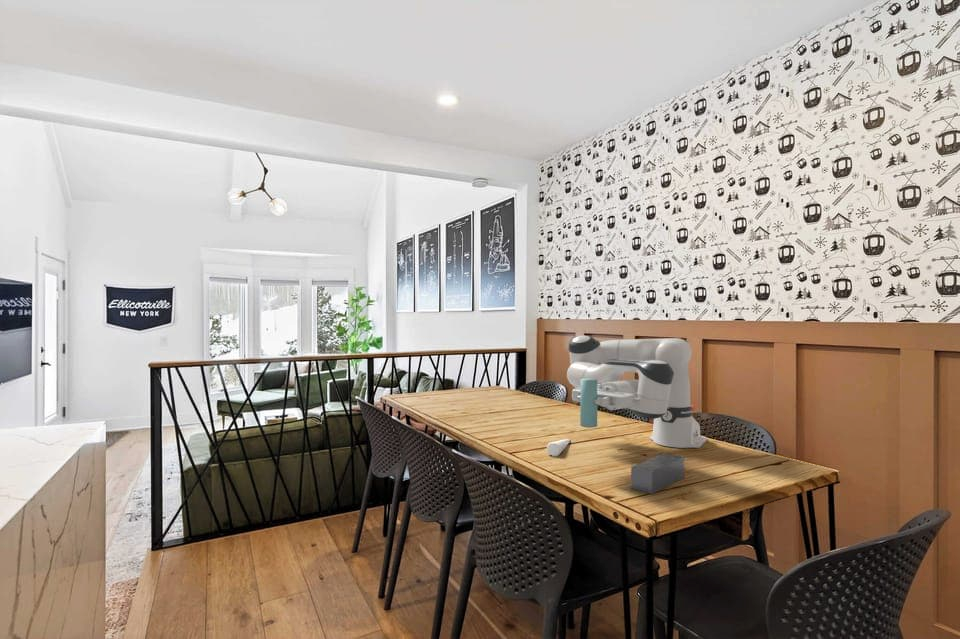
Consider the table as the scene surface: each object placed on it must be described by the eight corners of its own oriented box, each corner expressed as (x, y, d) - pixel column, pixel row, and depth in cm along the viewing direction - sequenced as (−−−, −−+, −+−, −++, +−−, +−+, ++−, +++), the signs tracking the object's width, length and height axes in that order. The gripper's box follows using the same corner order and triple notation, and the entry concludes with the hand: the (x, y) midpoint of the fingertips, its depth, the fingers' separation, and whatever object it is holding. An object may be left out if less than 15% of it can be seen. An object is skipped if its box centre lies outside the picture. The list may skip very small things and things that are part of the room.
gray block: (664, 472, 148) (664, 452, 148) (684, 477, 143) (684, 456, 143) (631, 488, 134) (631, 467, 134) (652, 494, 129) (652, 471, 129)
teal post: (586, 423, 151) (586, 378, 151) (600, 425, 148) (600, 379, 148) (577, 425, 148) (577, 379, 148) (591, 428, 144) (591, 381, 144)
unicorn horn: (579, 442, 186) (579, 429, 186) (559, 458, 165) (559, 444, 164) (567, 440, 188) (567, 428, 188) (546, 456, 167) (546, 442, 167)
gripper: (643, 410, 148) (617, 416, 139) (587, 401, 164) (561, 406, 155) (643, 389, 148) (617, 394, 139) (587, 382, 164) (561, 386, 155)
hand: (587, 400), depth 147 cm, fingers closed on teal post, 5 cm apart
